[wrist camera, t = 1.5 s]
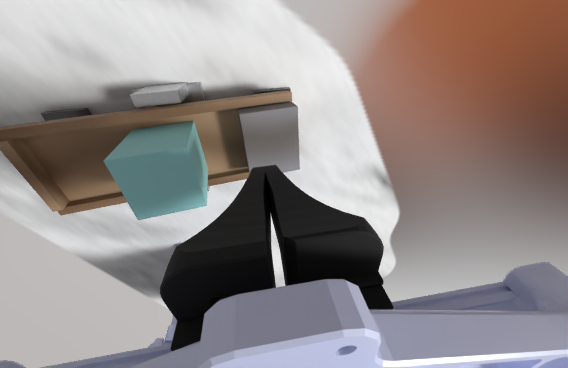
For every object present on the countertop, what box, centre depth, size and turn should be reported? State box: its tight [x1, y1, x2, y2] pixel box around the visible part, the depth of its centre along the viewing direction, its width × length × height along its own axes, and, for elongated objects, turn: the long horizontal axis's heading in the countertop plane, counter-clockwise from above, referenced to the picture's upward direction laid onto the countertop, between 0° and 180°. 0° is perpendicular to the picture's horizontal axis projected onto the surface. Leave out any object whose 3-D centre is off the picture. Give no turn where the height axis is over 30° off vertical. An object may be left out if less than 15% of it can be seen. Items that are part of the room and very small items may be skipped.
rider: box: [104, 121, 208, 220], centre depth 15 cm, size 4×4×5 cm
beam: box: [0, 91, 300, 215], centre depth 17 cm, size 6×18×4 cm, turn 94°
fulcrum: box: [41, 82, 290, 191], centre depth 18 cm, size 8×19×3 cm, turn 94°
